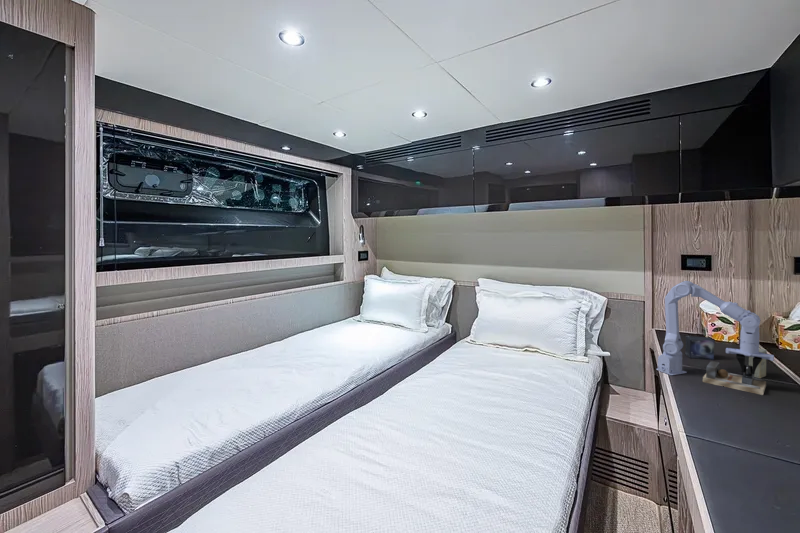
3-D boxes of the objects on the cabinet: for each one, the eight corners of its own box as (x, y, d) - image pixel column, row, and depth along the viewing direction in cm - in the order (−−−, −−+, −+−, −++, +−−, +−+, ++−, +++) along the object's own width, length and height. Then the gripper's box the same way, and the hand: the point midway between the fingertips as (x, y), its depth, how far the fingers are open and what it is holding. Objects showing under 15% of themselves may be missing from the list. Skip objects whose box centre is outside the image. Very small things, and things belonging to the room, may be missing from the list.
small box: (689, 358, 188) (690, 339, 187) (684, 354, 194) (685, 335, 193) (714, 360, 184) (715, 340, 183) (708, 356, 190) (709, 336, 189)
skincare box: (760, 378, 160) (761, 352, 159) (747, 375, 164) (748, 349, 163) (766, 375, 163) (767, 349, 162) (753, 372, 167) (754, 347, 166)
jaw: (741, 383, 151) (742, 367, 150) (744, 377, 157) (745, 362, 156) (751, 386, 149) (752, 369, 148) (754, 379, 154) (754, 363, 154)
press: (702, 381, 160) (703, 366, 159) (708, 374, 167) (708, 359, 167) (763, 395, 145) (763, 378, 144) (766, 386, 153) (766, 370, 152)
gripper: (724, 340, 154) (723, 371, 155) (773, 347, 143) (772, 380, 144) (727, 337, 159) (726, 366, 160) (774, 343, 148) (773, 375, 149)
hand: (748, 372), depth 152 cm, fingers closed on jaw, 2 cm apart
